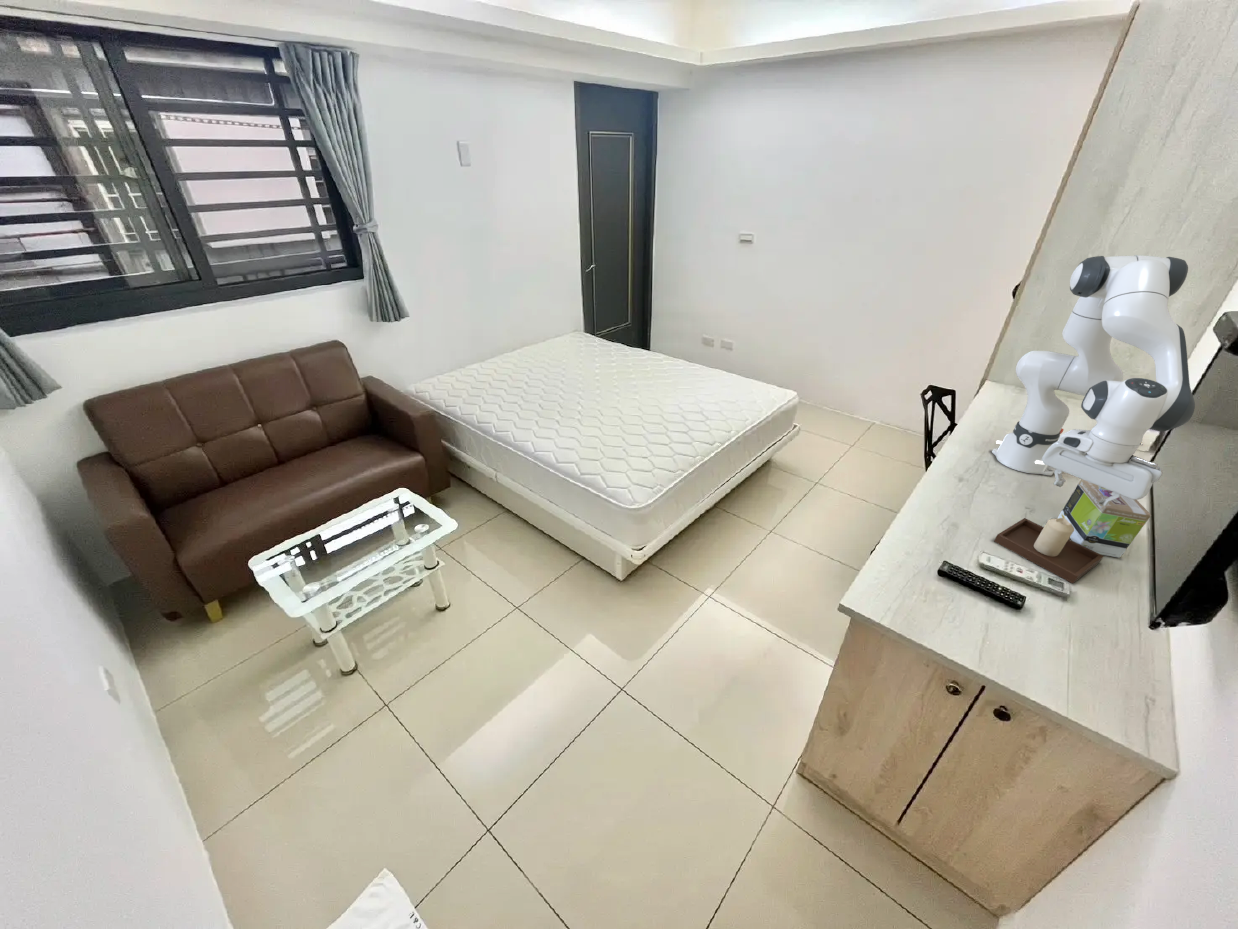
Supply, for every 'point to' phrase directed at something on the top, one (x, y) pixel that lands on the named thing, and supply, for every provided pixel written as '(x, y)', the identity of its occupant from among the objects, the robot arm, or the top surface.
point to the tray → (1064, 565)
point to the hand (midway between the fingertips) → (1079, 494)
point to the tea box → (1103, 519)
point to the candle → (1054, 536)
